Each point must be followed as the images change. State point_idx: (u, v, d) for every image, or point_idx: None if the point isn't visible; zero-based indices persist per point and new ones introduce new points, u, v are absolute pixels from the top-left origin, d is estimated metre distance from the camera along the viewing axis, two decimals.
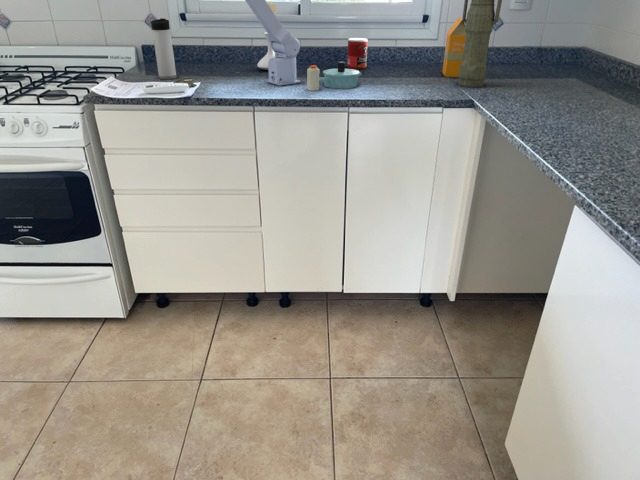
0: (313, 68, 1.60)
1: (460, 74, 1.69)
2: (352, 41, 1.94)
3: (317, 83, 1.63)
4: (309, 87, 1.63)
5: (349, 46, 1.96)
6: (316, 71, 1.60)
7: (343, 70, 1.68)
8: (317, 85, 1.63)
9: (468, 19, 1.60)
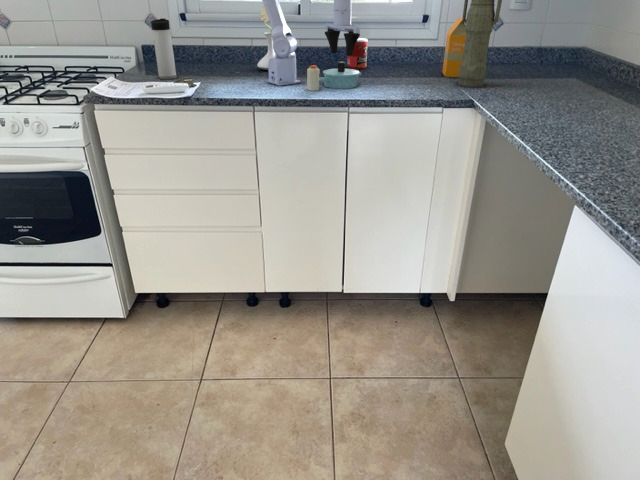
0: (313, 68, 1.60)
1: (460, 74, 1.69)
2: None
3: (317, 83, 1.63)
4: (309, 87, 1.63)
5: None
6: (316, 71, 1.60)
7: (343, 70, 1.68)
8: (317, 85, 1.63)
9: (468, 19, 1.60)
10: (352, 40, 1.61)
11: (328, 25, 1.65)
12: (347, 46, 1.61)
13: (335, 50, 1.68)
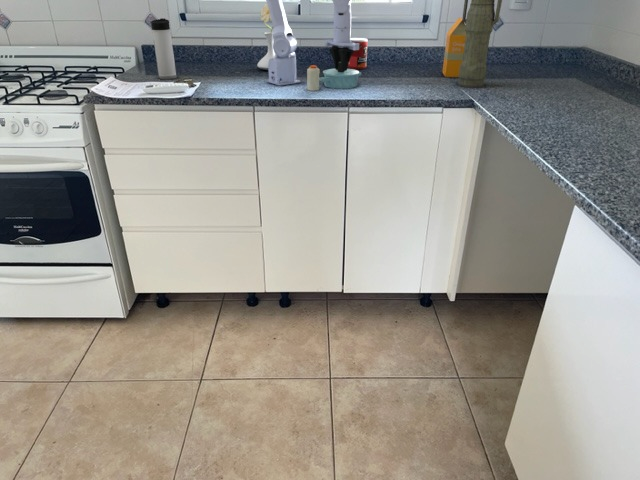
0: (313, 68, 1.60)
1: (460, 74, 1.69)
2: (352, 41, 1.94)
3: (317, 83, 1.63)
4: (309, 87, 1.63)
5: None
6: (316, 71, 1.60)
7: None
8: (317, 85, 1.63)
9: (468, 19, 1.60)
10: (347, 56, 1.65)
11: (328, 41, 1.67)
12: (342, 62, 1.65)
13: None
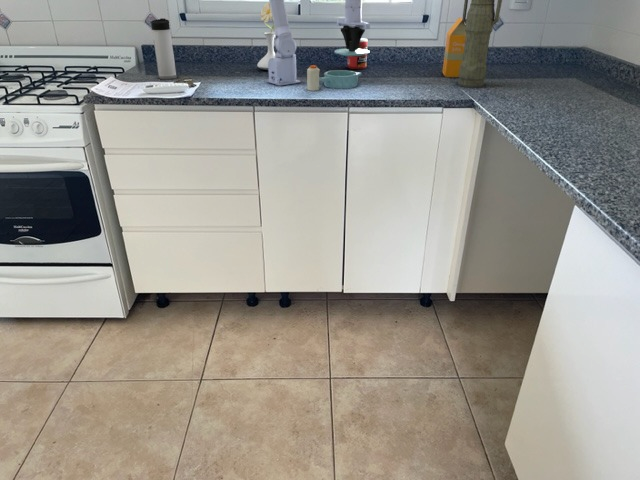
0: (313, 68, 1.60)
1: (460, 74, 1.69)
2: None
3: (317, 83, 1.63)
4: (309, 87, 1.63)
5: None
6: (316, 71, 1.60)
7: None
8: (317, 85, 1.63)
9: (468, 19, 1.60)
10: (357, 35, 1.71)
11: (339, 21, 1.73)
12: (353, 41, 1.71)
13: None
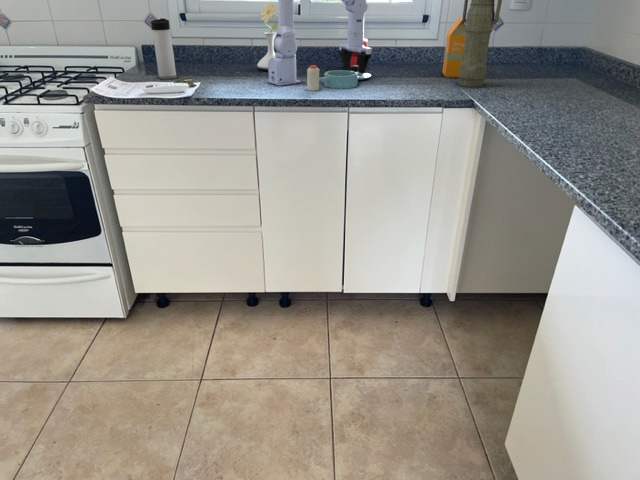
0: (313, 68, 1.60)
1: (460, 74, 1.69)
2: None
3: (317, 83, 1.63)
4: (309, 87, 1.63)
5: None
6: (316, 71, 1.60)
7: None
8: (317, 85, 1.63)
9: (468, 19, 1.60)
10: (364, 60, 1.76)
11: (342, 46, 1.80)
12: (360, 65, 1.76)
13: (348, 68, 1.83)
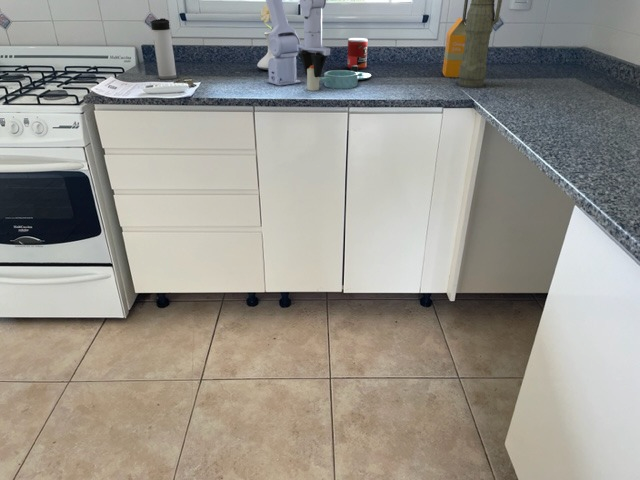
0: (313, 68, 1.60)
1: (460, 74, 1.69)
2: (352, 41, 1.94)
3: (317, 83, 1.63)
4: (309, 87, 1.63)
5: (349, 46, 1.96)
6: None
7: None
8: (317, 85, 1.63)
9: (468, 19, 1.60)
10: (320, 61, 1.59)
11: (299, 46, 1.61)
12: (315, 67, 1.58)
13: None
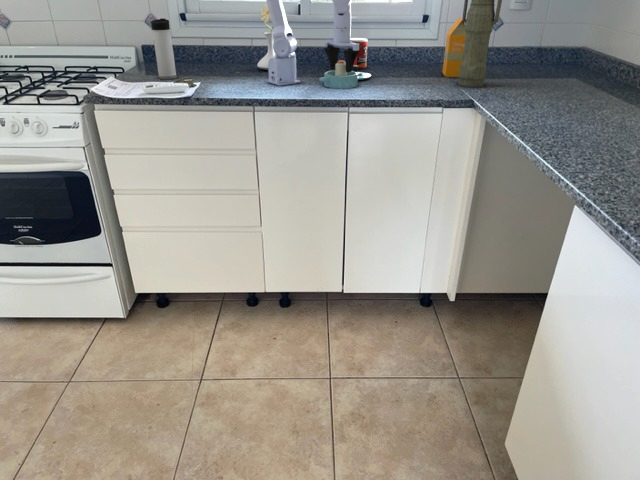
0: (341, 63, 1.66)
1: (460, 74, 1.69)
2: (352, 41, 1.94)
3: None
4: None
5: None
6: (344, 66, 1.66)
7: None
8: None
9: (468, 19, 1.60)
10: (351, 57, 1.64)
11: (328, 42, 1.67)
12: (346, 63, 1.63)
13: None
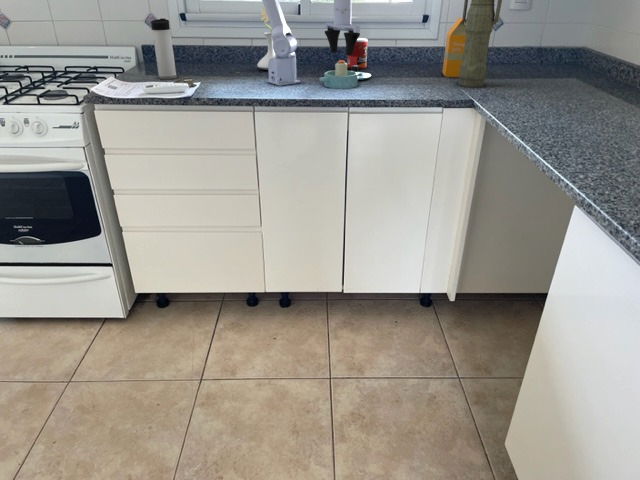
0: (341, 63, 1.66)
1: (460, 74, 1.69)
2: None
3: None
4: None
5: None
6: (344, 66, 1.66)
7: None
8: None
9: (468, 19, 1.60)
10: (352, 39, 1.61)
11: (328, 24, 1.64)
12: (347, 45, 1.61)
13: (335, 49, 1.68)
